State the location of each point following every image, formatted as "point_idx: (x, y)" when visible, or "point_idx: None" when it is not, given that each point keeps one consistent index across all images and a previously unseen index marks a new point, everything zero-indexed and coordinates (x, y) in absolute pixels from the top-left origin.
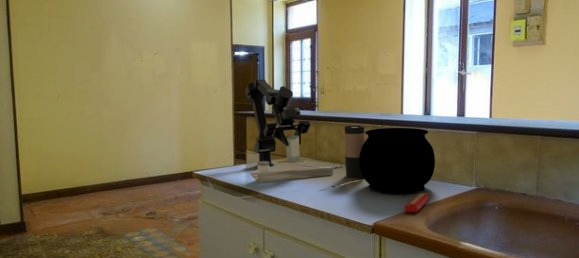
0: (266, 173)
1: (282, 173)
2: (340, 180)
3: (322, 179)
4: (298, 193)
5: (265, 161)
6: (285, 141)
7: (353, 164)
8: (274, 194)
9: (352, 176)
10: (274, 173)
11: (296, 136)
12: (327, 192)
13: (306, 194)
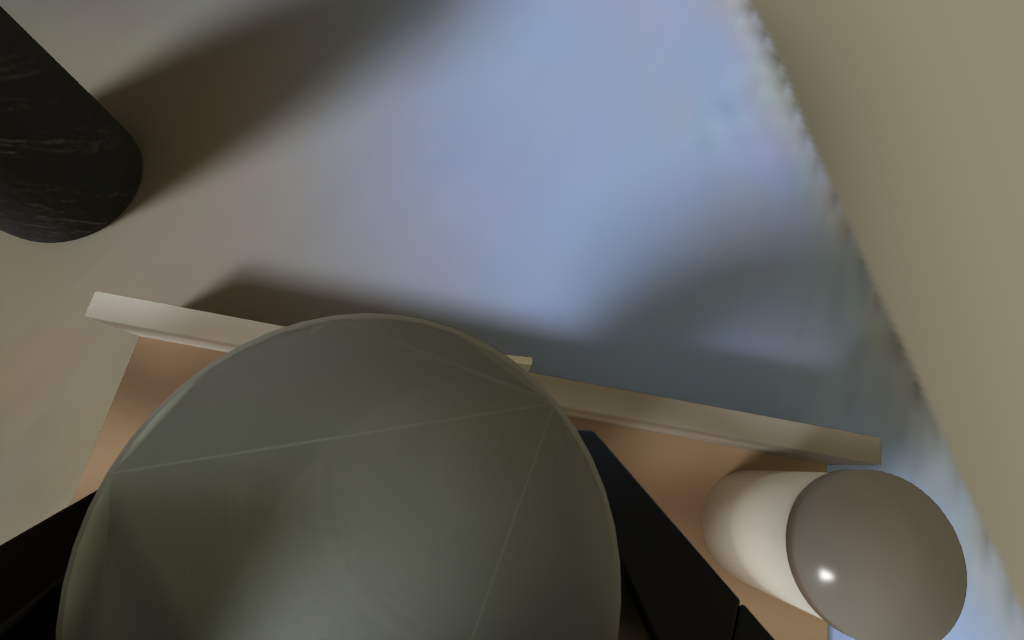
0: (793, 437)
1: (628, 394)
2: (214, 181)
3: (296, 287)
4: (640, 75)
5: (845, 589)
6: (645, 497)
7: (27, 34)
8: (778, 134)
9: (119, 124)
10: (712, 408)
11: (313, 334)
12: (485, 4)
13: (609, 35)
